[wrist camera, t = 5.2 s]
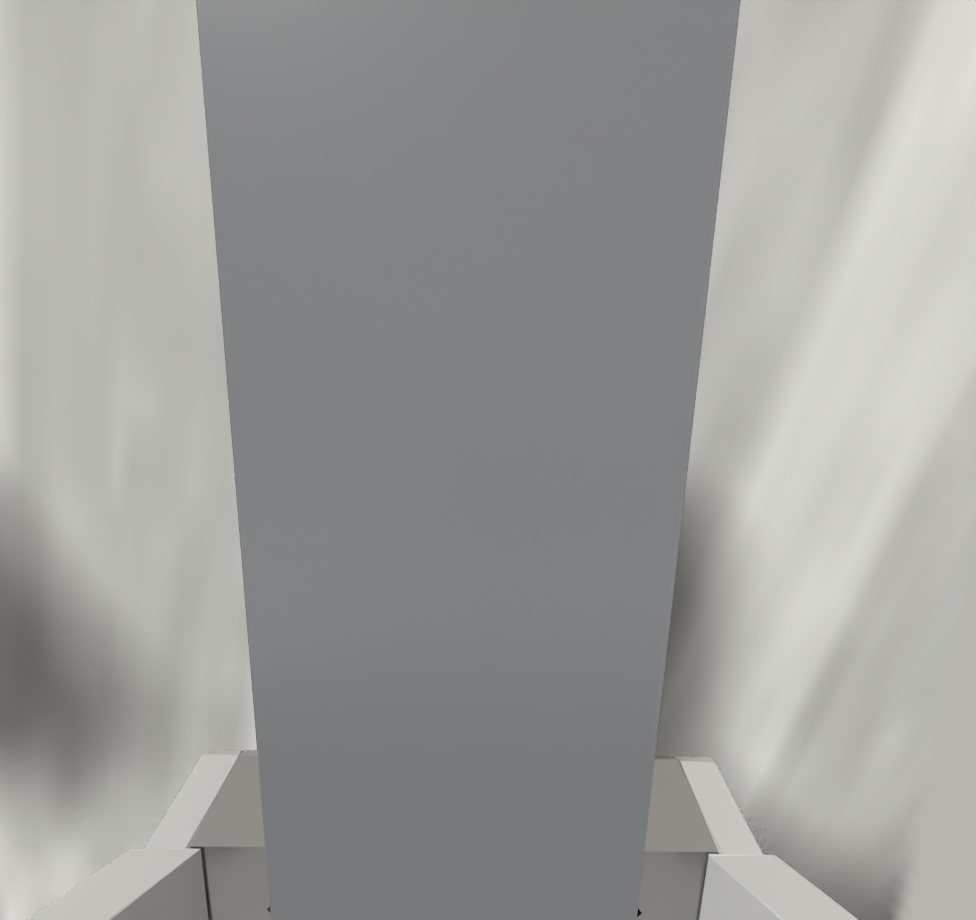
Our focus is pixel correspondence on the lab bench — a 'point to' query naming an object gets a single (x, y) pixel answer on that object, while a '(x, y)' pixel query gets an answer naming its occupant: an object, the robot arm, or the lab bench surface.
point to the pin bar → (461, 429)
